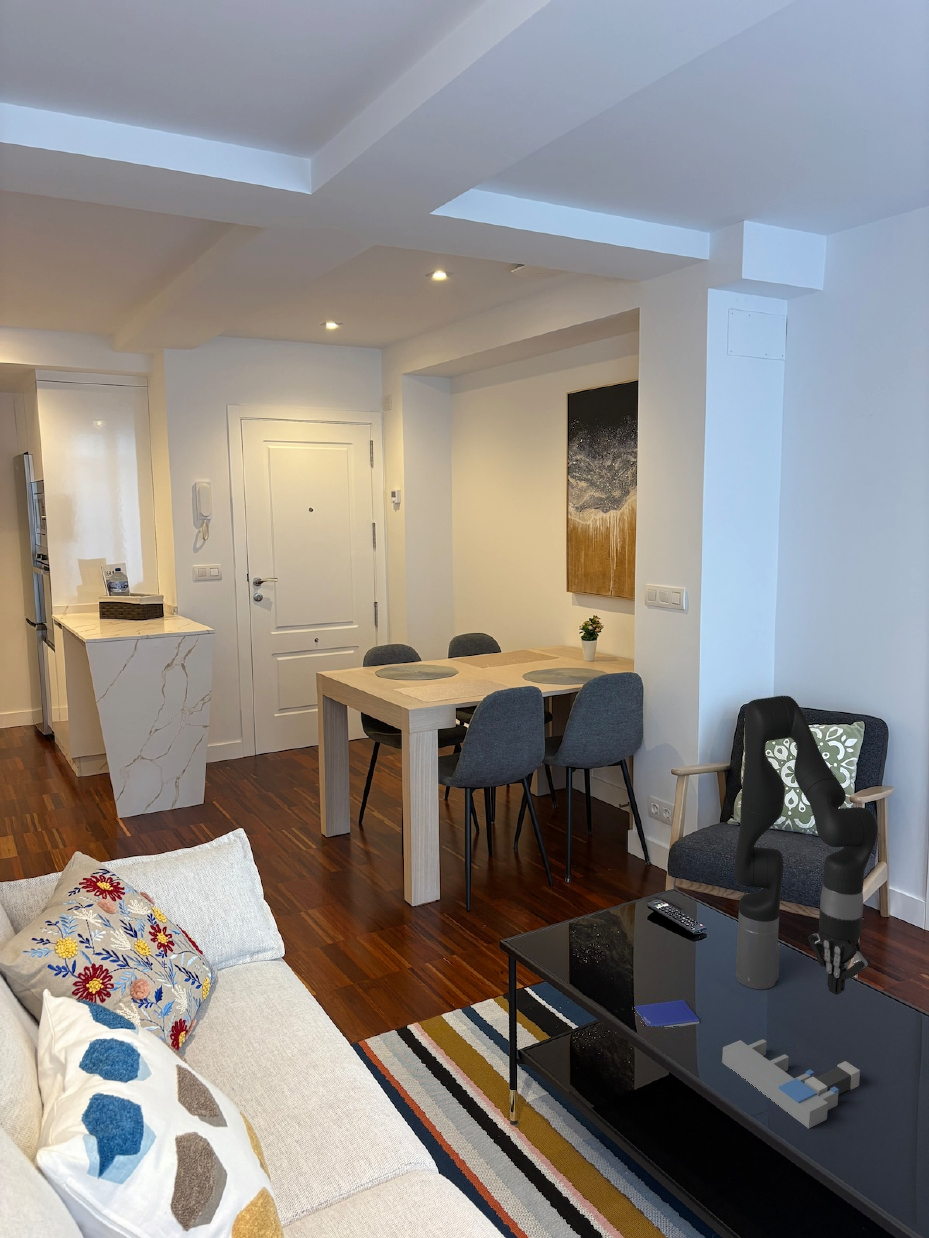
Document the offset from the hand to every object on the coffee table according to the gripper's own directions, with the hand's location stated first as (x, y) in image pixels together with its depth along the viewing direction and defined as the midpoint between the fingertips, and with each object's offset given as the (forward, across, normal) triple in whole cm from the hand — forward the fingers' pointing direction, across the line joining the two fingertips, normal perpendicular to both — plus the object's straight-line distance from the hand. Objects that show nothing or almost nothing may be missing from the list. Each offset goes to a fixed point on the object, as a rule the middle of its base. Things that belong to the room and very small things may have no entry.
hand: (835, 991), depth 175 cm
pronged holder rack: (+22, +6, +6) cm, 23 cm away
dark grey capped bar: (+22, 0, -1) cm, 22 cm away
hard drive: (+22, +35, +11) cm, 43 cm away
